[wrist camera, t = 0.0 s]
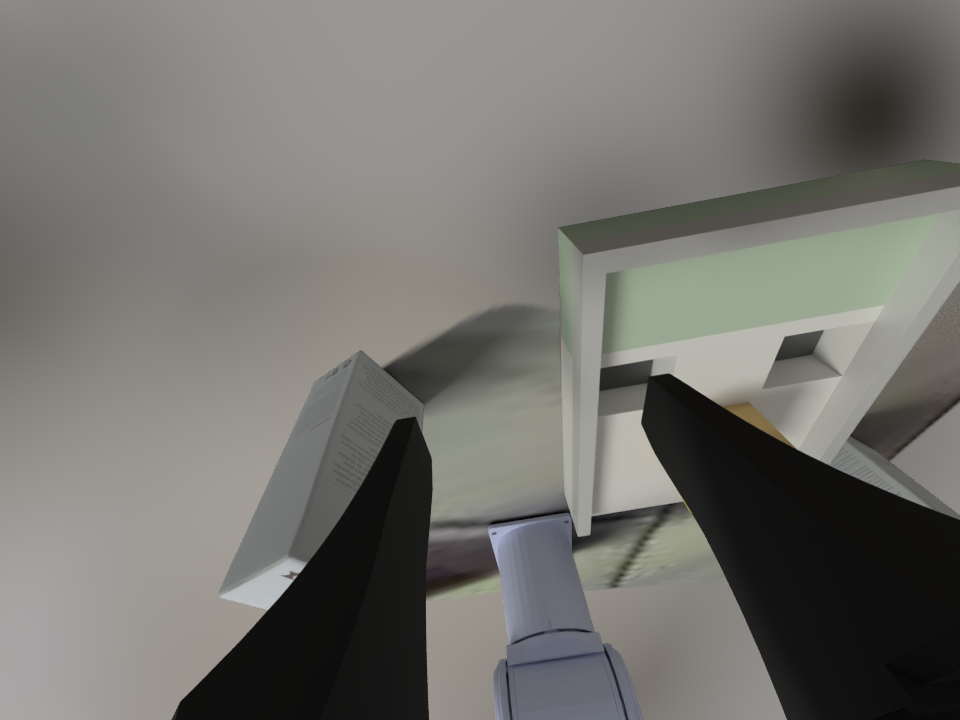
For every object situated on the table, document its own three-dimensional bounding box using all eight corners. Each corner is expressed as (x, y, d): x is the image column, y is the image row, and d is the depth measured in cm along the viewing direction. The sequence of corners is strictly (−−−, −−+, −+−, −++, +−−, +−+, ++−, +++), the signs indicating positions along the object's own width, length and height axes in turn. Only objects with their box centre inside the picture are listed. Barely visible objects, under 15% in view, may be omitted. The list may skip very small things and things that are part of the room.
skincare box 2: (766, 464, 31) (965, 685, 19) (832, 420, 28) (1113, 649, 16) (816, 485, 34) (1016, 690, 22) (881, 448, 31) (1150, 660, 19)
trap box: (766, 459, 31) (803, 501, 28) (564, 492, 31) (577, 537, 28) (924, 159, 17) (1036, 172, 14) (558, 227, 18) (583, 254, 14)
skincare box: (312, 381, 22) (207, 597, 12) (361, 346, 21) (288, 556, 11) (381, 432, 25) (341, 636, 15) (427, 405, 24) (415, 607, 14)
